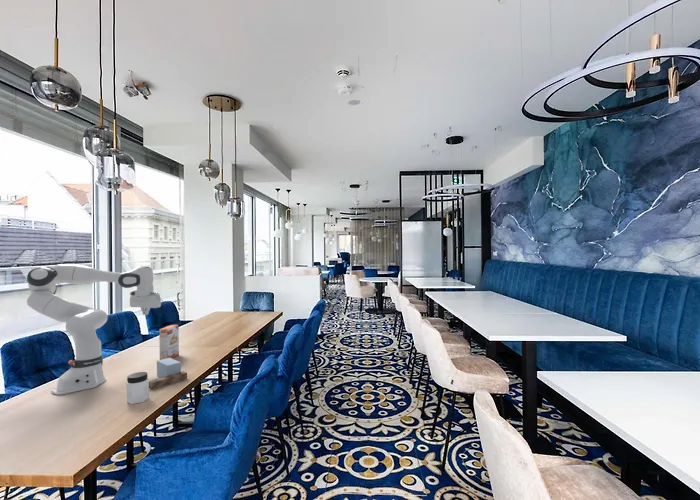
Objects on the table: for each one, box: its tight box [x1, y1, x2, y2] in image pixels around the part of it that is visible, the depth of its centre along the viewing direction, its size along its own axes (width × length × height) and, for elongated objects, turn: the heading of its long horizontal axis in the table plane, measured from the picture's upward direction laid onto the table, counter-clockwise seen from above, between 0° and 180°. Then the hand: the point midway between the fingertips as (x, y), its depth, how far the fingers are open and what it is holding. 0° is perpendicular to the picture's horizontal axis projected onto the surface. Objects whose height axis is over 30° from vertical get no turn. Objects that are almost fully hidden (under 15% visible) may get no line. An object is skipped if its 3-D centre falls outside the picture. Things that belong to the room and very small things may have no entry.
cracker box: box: [158, 324, 180, 360], centre depth 228 cm, size 14×6×21 cm, turn 179°
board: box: [149, 370, 188, 391], centre depth 183 cm, size 18×4×4 cm, turn 140°
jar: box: [125, 371, 150, 405], centre depth 163 cm, size 9×8×12 cm
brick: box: [156, 358, 182, 378], centre depth 192 cm, size 7×14×9 cm, turn 50°
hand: (145, 314), depth 212 cm, fingers closed
